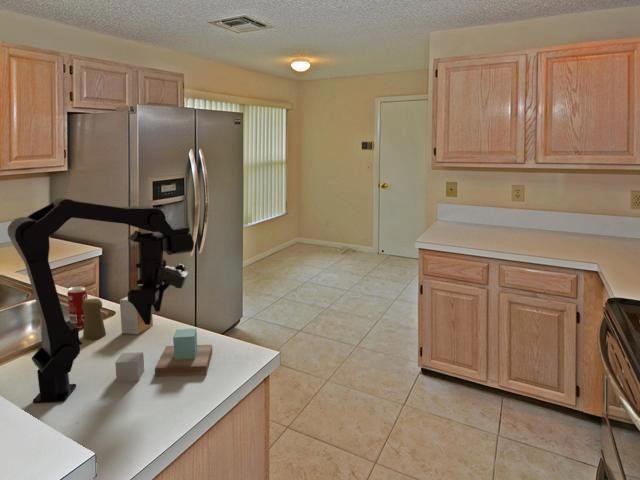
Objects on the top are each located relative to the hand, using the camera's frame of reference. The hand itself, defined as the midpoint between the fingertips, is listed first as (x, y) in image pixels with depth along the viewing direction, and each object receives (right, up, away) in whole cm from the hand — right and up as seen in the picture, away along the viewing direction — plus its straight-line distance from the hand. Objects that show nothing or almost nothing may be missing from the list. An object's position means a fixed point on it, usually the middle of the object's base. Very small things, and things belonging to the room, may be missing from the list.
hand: (153, 317), depth 111 cm
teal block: (+8, -10, +1) cm, 13 cm away
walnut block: (+8, -13, +1) cm, 15 cm away
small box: (-13, -8, +22) cm, 27 cm away
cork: (-24, -8, +17) cm, 30 cm away
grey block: (-3, -13, -5) cm, 15 cm away
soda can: (-32, -7, +24) cm, 40 cm away
